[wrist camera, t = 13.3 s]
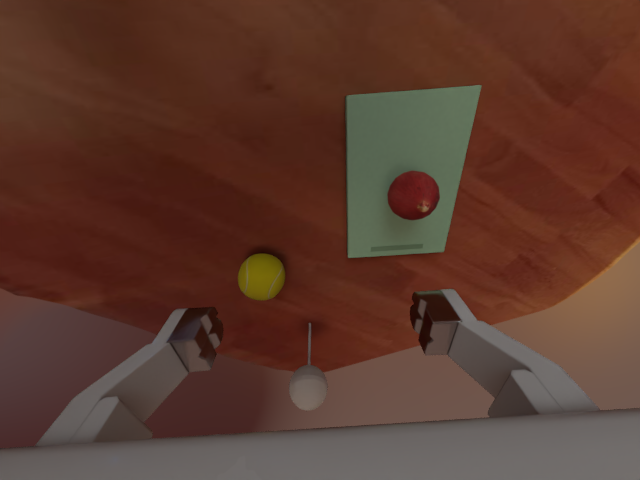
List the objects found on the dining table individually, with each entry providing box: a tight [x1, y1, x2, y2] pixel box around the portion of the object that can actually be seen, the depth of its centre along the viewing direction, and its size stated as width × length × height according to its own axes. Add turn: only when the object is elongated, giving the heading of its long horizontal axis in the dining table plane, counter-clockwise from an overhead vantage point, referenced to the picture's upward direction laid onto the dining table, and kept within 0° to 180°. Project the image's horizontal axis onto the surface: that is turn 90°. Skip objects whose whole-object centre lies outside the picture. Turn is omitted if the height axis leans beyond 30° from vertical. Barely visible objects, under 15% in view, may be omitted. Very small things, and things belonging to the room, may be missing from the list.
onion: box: [387, 171, 440, 220], centre depth 28 cm, size 6×6×8 cm
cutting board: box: [345, 85, 481, 258], centre depth 32 cm, size 22×15×2 cm
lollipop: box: [289, 323, 328, 410], centre depth 40 cm, size 6×6×15 cm
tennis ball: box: [238, 253, 285, 300], centre depth 36 cm, size 7×7×7 cm
